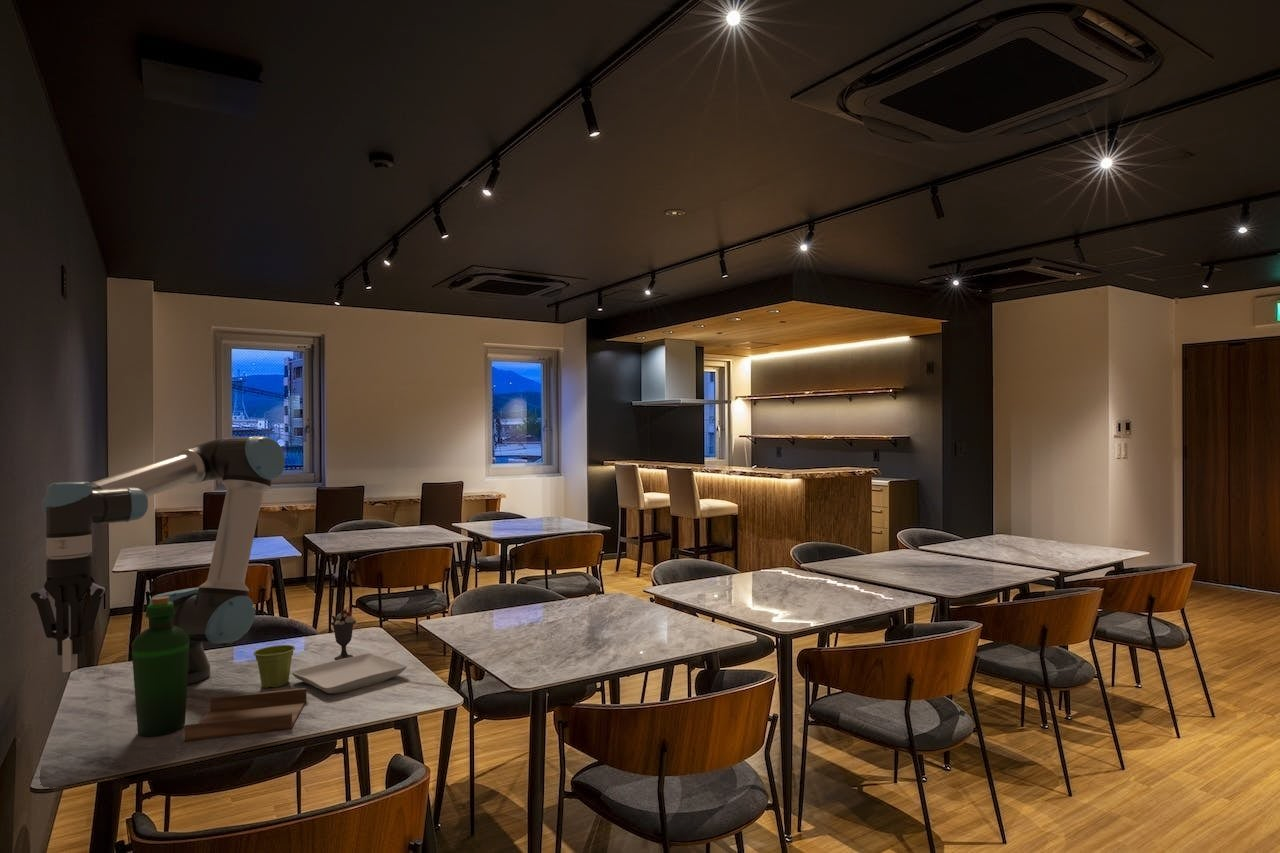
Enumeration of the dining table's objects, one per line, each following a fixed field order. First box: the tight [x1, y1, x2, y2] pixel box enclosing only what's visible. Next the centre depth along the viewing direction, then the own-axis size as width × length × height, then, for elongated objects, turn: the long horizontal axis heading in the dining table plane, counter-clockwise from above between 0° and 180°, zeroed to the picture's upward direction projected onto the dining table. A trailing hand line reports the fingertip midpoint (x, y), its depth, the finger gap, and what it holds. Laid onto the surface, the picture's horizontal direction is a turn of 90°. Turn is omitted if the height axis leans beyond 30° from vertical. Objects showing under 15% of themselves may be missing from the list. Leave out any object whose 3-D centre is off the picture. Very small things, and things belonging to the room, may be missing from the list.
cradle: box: [183, 687, 308, 742], centre depth 159 cm, size 18×20×3 cm
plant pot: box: [253, 644, 296, 688], centre depth 183 cm, size 9×9×9 cm
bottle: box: [130, 596, 190, 737], centre depth 155 cm, size 11×11×28 cm
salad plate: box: [291, 652, 407, 694], centre depth 185 cm, size 21×21×3 cm
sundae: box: [329, 603, 357, 661], centre depth 205 cm, size 7×7×15 cm
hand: (70, 670), depth 150 cm, fingers closed
